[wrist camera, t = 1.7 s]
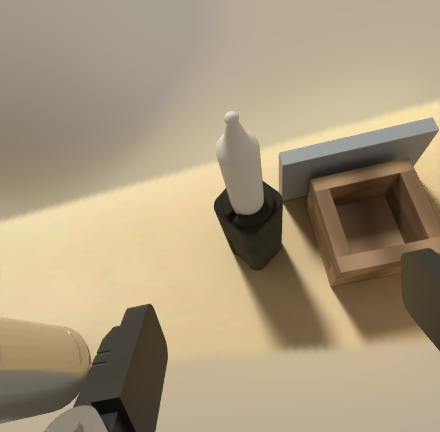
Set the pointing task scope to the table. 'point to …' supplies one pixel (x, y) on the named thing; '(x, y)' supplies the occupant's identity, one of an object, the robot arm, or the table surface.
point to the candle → (247, 198)
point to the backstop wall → (352, 154)
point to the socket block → (370, 220)
